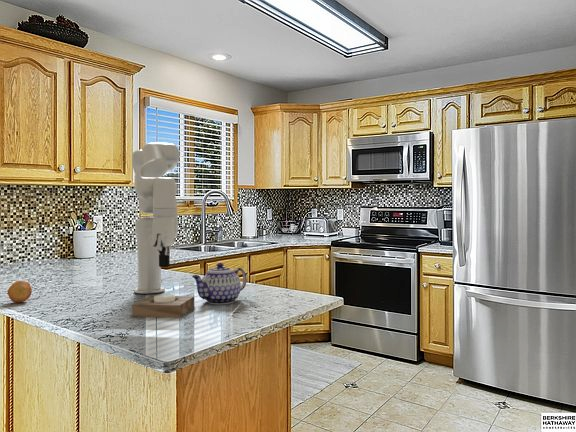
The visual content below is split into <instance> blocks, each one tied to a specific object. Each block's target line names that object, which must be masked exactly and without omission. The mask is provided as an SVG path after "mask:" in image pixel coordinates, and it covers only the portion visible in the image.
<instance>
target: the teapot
mask: <svg viewBox="0 0 576 432" xmlns="http://www.w3.org/2000/svg"><path fill="white" fill-rule="evenodd" d="M224 265H225V264H224V263H223V262H217V263H216V267H213V268H209V269H207V272H206V274H205V275H203V276H202V277H201V276H200V275H199V274H194V275H192V276H191V277H192V278H194V280H195V283H196V291H197V294H198V296H199V298H201V299H202V300H206V301H207V303H208V304H210V305H229V304H233V303H234V302H235V301H236V299H237V298H238V297H239V295H240V294H241V291H243V290H244V289H245V287H246V285H247V281H248V279H247V278H248V277H247V274H246V272H245V270H244V269H243V268H241V267H237V268H235V270H234V269H233V268H230V267H227V266H226V267H224ZM239 272H241V274H242V284H241V278H240V276H239V275H238V273H239Z"/></svg>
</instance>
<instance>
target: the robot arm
mask: <svg viewBox="0 0 576 432" xmlns="http://www.w3.org/2000/svg"><path fill="white" fill-rule="evenodd" d="M180 155H181V153H180V150H179V147H178V146H177V145H176V144H174V143H169V142H148V143H146V144H145V145H144V146H143V147H142V149H138V150H135V151H133V152H132V155H131V163H132V164H131V165H132V168H133V169H132V170H133V172H134V174H135V175H134V187H135V192H136V196H137V197H138V198H137V199H138V209H139V212H140V213H141V214H145V215H152V216H144V217H140V218H138V219H137V220H136V222H135V224H134V225H135V235H136V244H137V287H136V288H134V289H133V292H134V293H135V294H158V293H162V292H165V291H166V289H165V287H164V286H162V283H163V279H162V268H168V267H169V268H170V266H171V265H170V263H171V262H170V259H171V258H170V257H171V256H170V254H171V249H172V246H173V245H174V244H175V241H176V240H175V238H177V236H178V231H179V221H178V201H177V196H176V195H177V194H178V184H177V182H176V180H175V179H174V178H173V177H167V176H165V177H164V175H165V174H166V173H167V172H168V171H173V170H174V169H175V168H176V166H177V165H178V164H179V162H180V158H181V157H180Z"/></svg>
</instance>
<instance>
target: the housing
mask: <svg viewBox="0 0 576 432" xmlns="http://www.w3.org/2000/svg"><path fill="white" fill-rule="evenodd" d="M154 296H155V295H149V296H147V297H145V298H143V299H141V300H140V301H137V302H134V303H132V305H131V309H132V310H131V312H132V314H131V315H132V318H133V317H134V318H135V317H136V318H173V319H174V318H177V319H179V318H182V317H183V316H184V315H185V314H187V313H188V312H190V311H192V309H194V308H195V296H194V295H193V296H191V295H185V296H184V295H175V301H174V302H172V303H157V302H154Z"/></svg>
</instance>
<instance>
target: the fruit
mask: <svg viewBox="0 0 576 432" xmlns="http://www.w3.org/2000/svg"><path fill="white" fill-rule="evenodd" d="M32 292H33V291H32V286H31V284H30V283H29V282H28V281H23V280H17V281H15V282H13V283H12V284H11V285H10V287H9V288H8V290H7V295H8V299H10V301H12V302H14V303H25V302H26V301H28V300H29V298H30V297H31V295H32Z"/></svg>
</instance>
